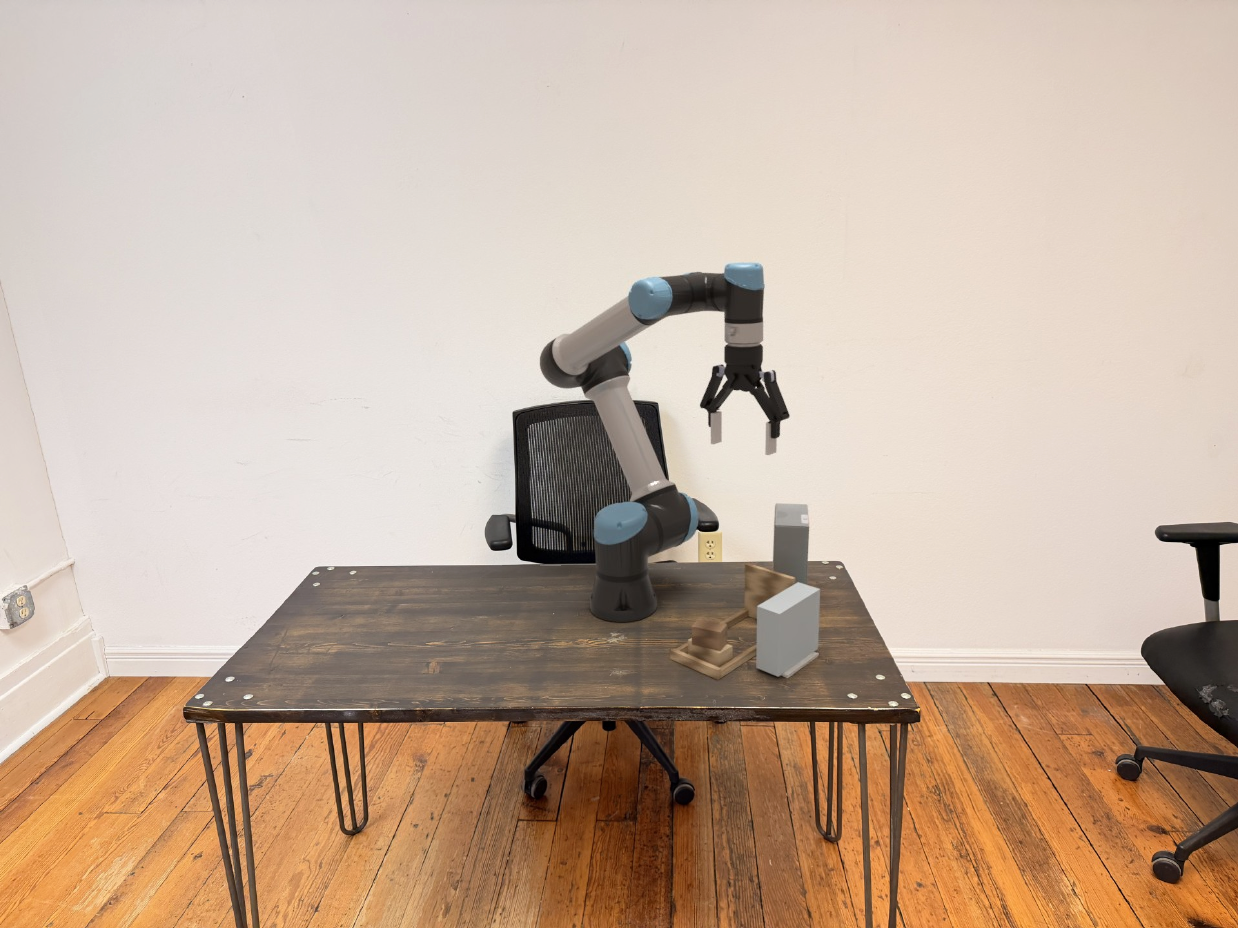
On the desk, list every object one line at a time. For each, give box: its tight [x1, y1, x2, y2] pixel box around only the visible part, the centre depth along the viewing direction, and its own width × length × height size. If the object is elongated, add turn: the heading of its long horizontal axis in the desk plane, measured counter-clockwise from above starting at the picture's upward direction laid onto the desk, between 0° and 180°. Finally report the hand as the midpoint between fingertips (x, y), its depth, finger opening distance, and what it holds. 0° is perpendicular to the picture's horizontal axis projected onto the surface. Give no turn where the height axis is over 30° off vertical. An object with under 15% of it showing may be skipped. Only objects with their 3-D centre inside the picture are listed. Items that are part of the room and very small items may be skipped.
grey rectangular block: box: [755, 582, 821, 678], centre depth 159 cm, size 5×14×13 cm, turn 135°
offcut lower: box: [687, 637, 734, 668], centre depth 161 cm, size 8×4×4 cm, turn 43°
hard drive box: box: [772, 502, 810, 585], centre depth 186 cm, size 16×8×20 cm, turn 168°
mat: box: [780, 651, 820, 679], centre depth 161 cm, size 7×11×1 cm, turn 136°
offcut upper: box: [691, 618, 728, 651], centre depth 160 cm, size 6×4×4 cm, turn 62°
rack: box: [669, 562, 795, 681], centre depth 166 cm, size 12×26×12 cm, turn 136°
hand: (742, 448), depth 167 cm, fingers open, 13 cm apart
